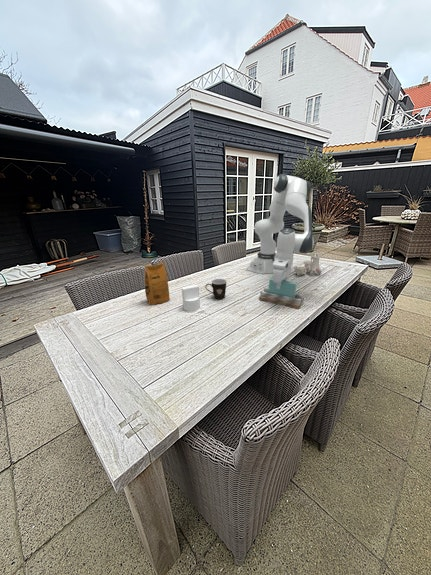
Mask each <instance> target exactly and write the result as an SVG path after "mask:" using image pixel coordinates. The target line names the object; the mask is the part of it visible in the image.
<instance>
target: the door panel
mask: <svg viewBox="0 0 431 575" xmlns="http://www.w3.org/2000/svg"><path fill="white" fill-rule="evenodd" d="M297 284H298V283H297V282H296V281H290V280H287V279H286V280H283V281H282V282H281V288H280V289H277V285H276V283H274V282H273V277H271V278H269V280H268V289H269V291H268V293H272V294H277V295H282V296H286V297H291V298H295V294H297V293H296V291H297Z"/></svg>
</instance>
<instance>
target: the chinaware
mask: <svg viewBox="0 0 431 575" xmlns="http://www.w3.org/2000/svg"><path fill="white" fill-rule="evenodd" d="M320 258H321V255H320V254H319V253H318V252H315V253H314V254H312V255H310V261H309V260H308V261H307V260H306V261H303V265H304V267H303V266H299V267H298V266H295V267H294V268H293V269H294V273H295V274H296V275H297V276H298V277H301V276H302V275H304V274H305V273H306V275H308V276H312V277H318V276H320V274H321V273H322V269H321V267H320Z"/></svg>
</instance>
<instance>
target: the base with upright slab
mask: <svg viewBox="0 0 431 575" xmlns="http://www.w3.org/2000/svg"><path fill="white" fill-rule="evenodd" d="M181 297H182V308H183V310H184V311H186V312H195V311H198V310H200V308H201V301H200V286H199V285H198V284H193V285H192V284H191V285H187V286H183V287H181Z"/></svg>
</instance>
